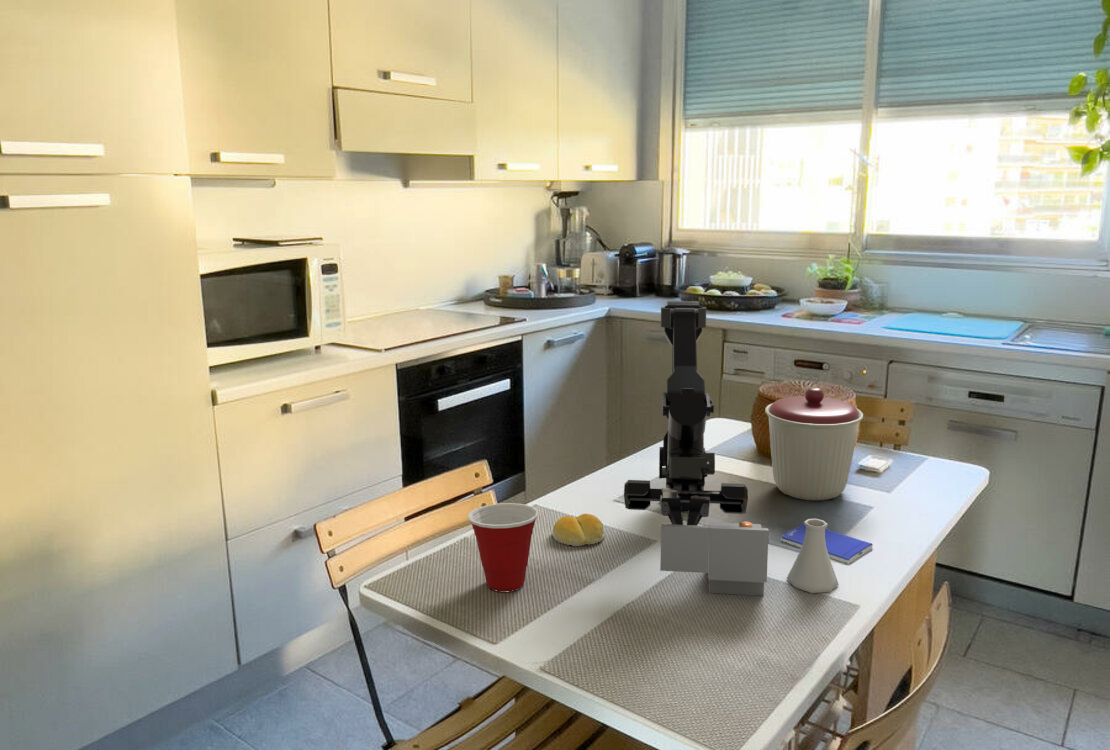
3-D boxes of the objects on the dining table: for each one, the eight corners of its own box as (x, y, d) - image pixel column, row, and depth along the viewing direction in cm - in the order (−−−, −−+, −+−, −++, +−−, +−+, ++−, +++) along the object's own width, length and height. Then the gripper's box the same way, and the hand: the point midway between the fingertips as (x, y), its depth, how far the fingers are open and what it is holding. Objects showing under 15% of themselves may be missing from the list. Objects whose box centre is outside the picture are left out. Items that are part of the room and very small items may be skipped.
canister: (743, 491, 168) (747, 388, 163) (794, 469, 180) (799, 372, 175) (826, 517, 155) (832, 405, 150) (875, 491, 167) (882, 387, 162)
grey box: (707, 568, 136) (709, 516, 133) (758, 571, 134) (761, 518, 132) (709, 594, 127) (710, 539, 125) (763, 597, 126) (766, 541, 124)
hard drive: (781, 535, 145) (848, 557, 136) (806, 521, 150) (872, 542, 142) (780, 543, 145) (848, 566, 137) (805, 529, 151) (872, 551, 142)
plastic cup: (534, 564, 138) (533, 495, 135) (545, 596, 128) (544, 522, 125) (468, 571, 136) (465, 501, 133) (473, 603, 126) (470, 528, 123)
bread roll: (549, 531, 152) (549, 510, 151) (598, 526, 153) (598, 506, 152) (557, 550, 144) (556, 528, 143) (608, 546, 145) (608, 524, 144)
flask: (811, 598, 126) (815, 536, 123) (778, 579, 132) (780, 519, 130) (847, 587, 129) (851, 526, 126) (812, 568, 135) (816, 509, 133)
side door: (660, 574, 127) (661, 523, 126) (766, 579, 125) (768, 528, 124) (660, 577, 127) (660, 526, 125) (766, 582, 124) (768, 530, 123)
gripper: (624, 430, 130) (619, 526, 122) (749, 433, 127) (752, 532, 119) (627, 462, 139) (623, 553, 131) (743, 466, 137) (746, 559, 128)
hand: (684, 549), depth 127 cm, fingers closed
